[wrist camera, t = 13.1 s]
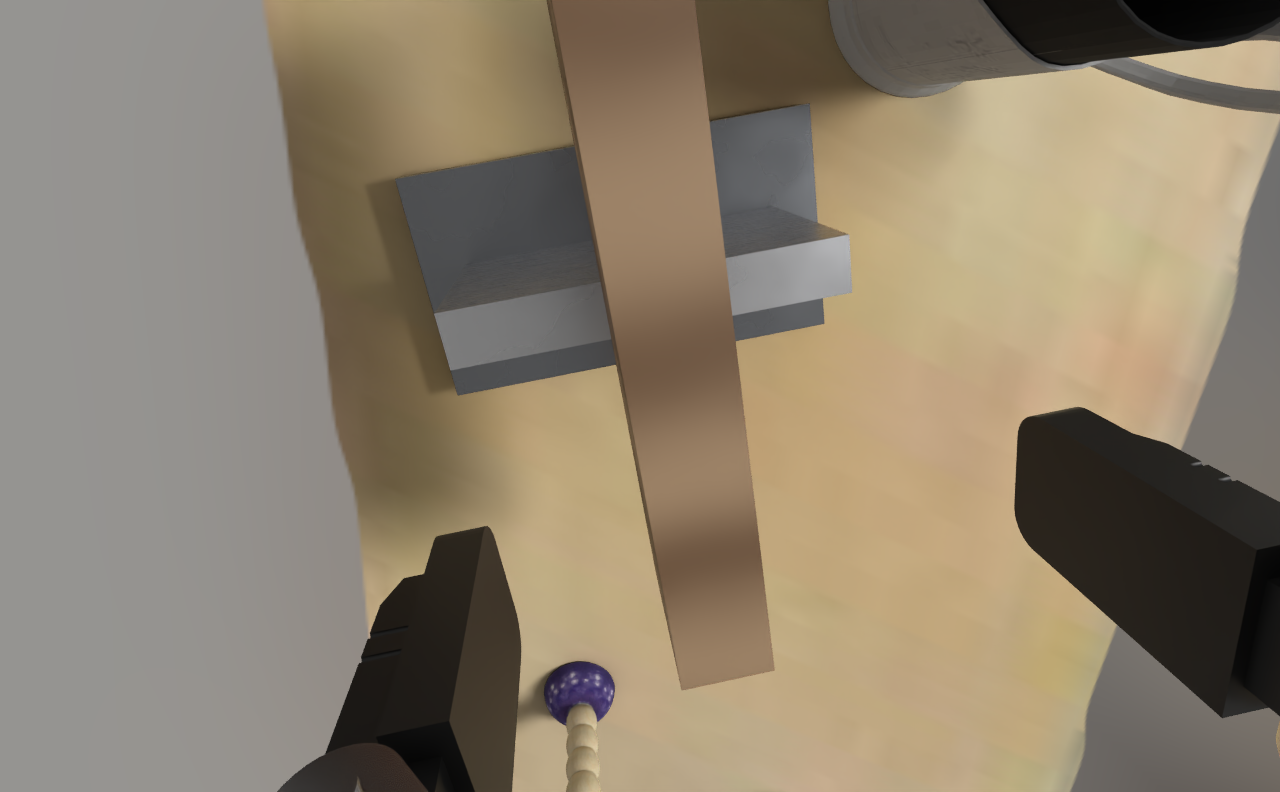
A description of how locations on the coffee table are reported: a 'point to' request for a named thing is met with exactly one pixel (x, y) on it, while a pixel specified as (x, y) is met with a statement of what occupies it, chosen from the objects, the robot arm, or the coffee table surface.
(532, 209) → the ridge stand
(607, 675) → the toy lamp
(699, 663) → the brown wooden plank
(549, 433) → the coffee table surface
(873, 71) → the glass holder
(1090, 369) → the coffee table surface
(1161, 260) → the coffee table surface
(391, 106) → the coffee table surface
